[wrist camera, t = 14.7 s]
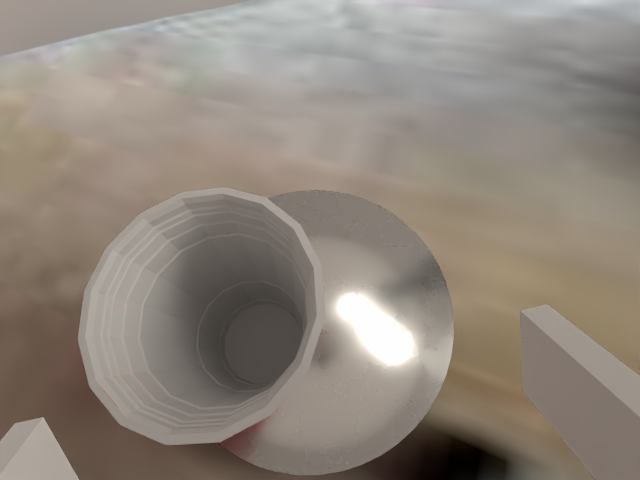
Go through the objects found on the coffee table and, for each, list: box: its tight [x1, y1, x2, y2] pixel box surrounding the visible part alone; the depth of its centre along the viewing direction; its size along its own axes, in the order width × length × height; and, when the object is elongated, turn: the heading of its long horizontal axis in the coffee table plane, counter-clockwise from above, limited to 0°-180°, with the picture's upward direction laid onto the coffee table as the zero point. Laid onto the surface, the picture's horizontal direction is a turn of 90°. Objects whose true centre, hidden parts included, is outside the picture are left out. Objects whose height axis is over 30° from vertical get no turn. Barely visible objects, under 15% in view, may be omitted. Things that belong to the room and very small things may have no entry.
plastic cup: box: [78, 187, 326, 445], centre depth 22 cm, size 11×11×12 cm
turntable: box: [217, 190, 454, 475], centre depth 29 cm, size 20×20×2 cm
